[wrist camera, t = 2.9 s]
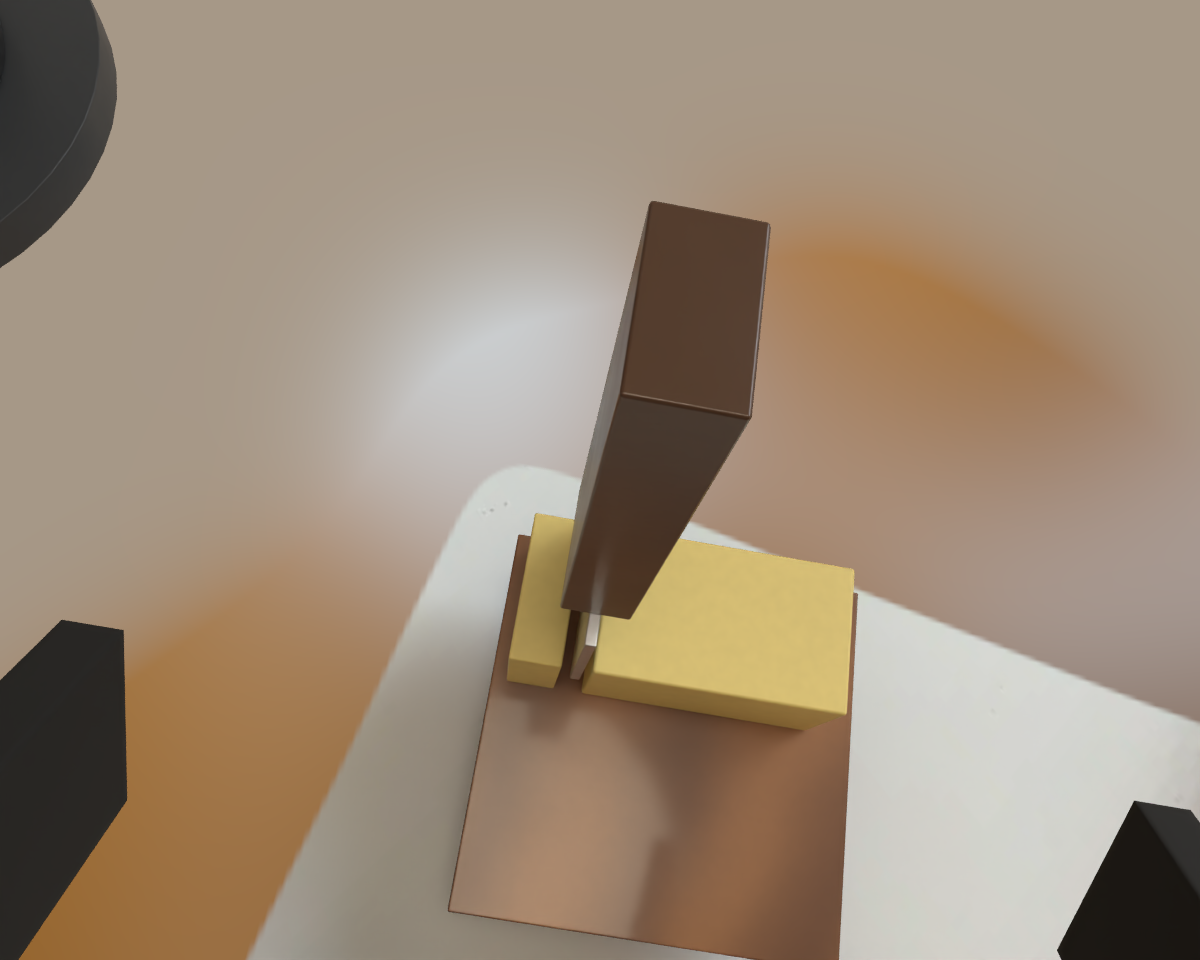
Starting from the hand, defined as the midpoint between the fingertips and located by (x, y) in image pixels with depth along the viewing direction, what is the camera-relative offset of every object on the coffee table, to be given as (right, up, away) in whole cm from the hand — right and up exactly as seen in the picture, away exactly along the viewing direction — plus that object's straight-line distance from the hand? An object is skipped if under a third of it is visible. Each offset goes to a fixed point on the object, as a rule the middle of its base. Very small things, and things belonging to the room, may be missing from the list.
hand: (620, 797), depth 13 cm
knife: (-1, 0, +17) cm, 17 cm away
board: (+2, -5, +20) cm, 21 cm away
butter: (+2, -1, +20) cm, 20 cm away
